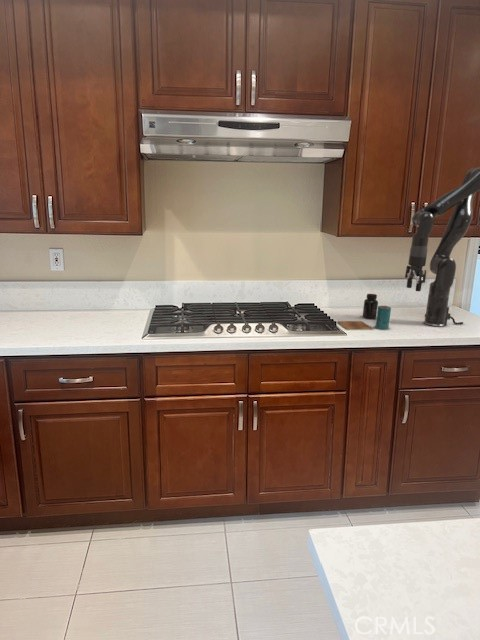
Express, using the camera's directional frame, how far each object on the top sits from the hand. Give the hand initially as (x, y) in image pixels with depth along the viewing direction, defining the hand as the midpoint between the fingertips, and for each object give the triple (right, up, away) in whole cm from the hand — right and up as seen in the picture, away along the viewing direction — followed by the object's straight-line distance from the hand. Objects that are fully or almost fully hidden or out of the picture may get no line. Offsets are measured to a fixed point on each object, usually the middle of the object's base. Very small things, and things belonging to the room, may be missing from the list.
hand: (413, 289), depth 221 cm
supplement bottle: (-17, -14, +15) cm, 26 cm away
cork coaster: (-28, -17, -1) cm, 33 cm away
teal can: (-16, -18, -3) cm, 25 cm away
